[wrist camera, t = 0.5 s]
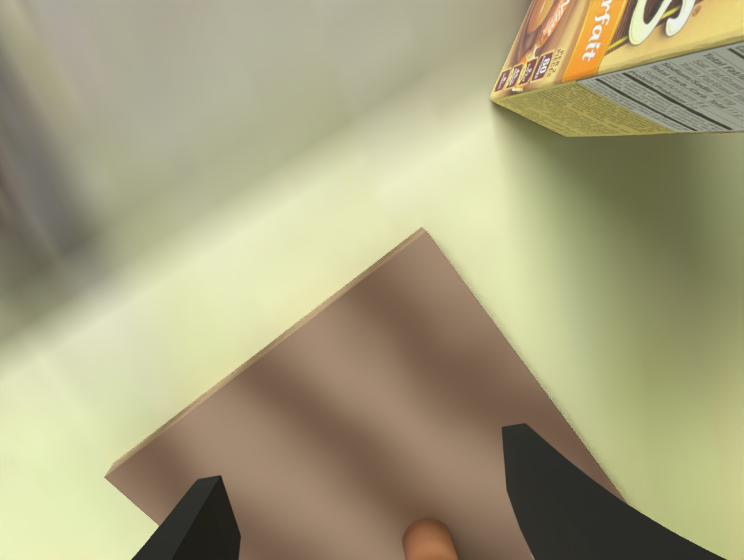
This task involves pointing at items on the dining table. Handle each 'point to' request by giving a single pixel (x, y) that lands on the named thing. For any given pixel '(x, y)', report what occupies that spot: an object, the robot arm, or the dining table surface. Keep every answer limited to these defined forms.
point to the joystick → (428, 541)
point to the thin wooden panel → (363, 425)
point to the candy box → (628, 67)
